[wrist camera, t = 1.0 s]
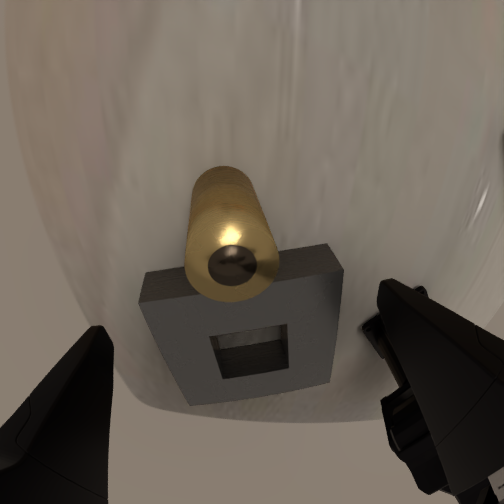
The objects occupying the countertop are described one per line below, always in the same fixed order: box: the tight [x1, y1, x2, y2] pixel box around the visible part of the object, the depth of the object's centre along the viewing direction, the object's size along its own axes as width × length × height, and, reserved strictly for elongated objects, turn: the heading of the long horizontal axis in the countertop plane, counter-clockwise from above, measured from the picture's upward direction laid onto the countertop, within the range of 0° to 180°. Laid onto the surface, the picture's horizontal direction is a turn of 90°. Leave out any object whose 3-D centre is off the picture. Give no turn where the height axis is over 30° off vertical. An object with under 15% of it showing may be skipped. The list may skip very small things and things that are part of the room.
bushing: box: [185, 166, 279, 302], centre depth 14 cm, size 4×4×7 cm
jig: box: [138, 244, 344, 406], centre depth 21 cm, size 12×12×3 cm
